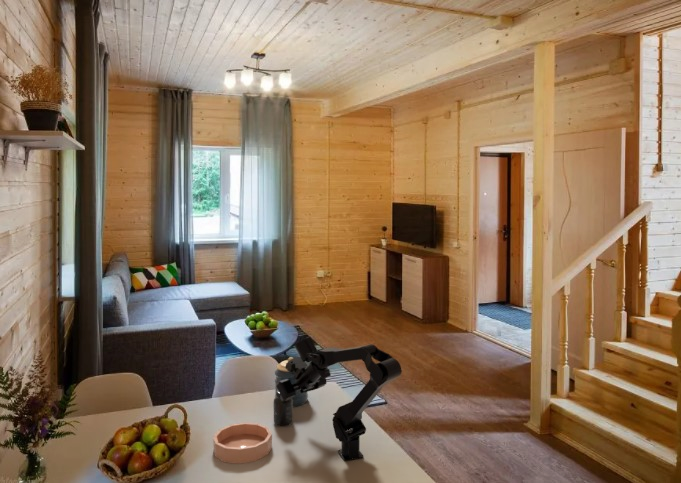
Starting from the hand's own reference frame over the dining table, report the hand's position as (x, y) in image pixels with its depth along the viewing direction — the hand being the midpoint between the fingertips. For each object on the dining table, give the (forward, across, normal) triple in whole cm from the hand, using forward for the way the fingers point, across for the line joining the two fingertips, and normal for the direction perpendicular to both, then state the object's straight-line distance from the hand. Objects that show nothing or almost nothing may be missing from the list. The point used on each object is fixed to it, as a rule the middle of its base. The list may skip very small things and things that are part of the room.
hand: (291, 395), depth 187 cm
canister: (+21, -15, -4) cm, 26 cm away
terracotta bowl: (+7, +21, +9) cm, 24 cm away
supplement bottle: (+11, 0, +5) cm, 12 cm away
